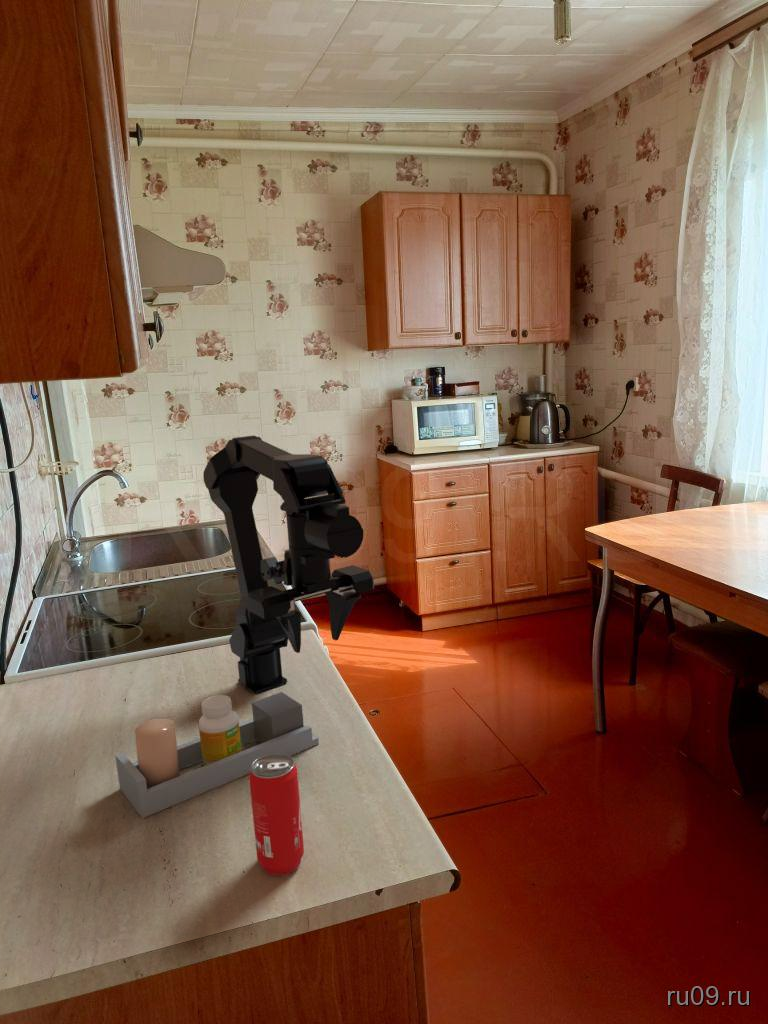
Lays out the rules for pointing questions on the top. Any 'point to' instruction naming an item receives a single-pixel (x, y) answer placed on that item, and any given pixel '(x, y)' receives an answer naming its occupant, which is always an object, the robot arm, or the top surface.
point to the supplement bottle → (218, 729)
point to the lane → (204, 769)
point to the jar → (157, 751)
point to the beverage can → (276, 813)
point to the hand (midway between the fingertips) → (316, 645)
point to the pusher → (276, 717)
